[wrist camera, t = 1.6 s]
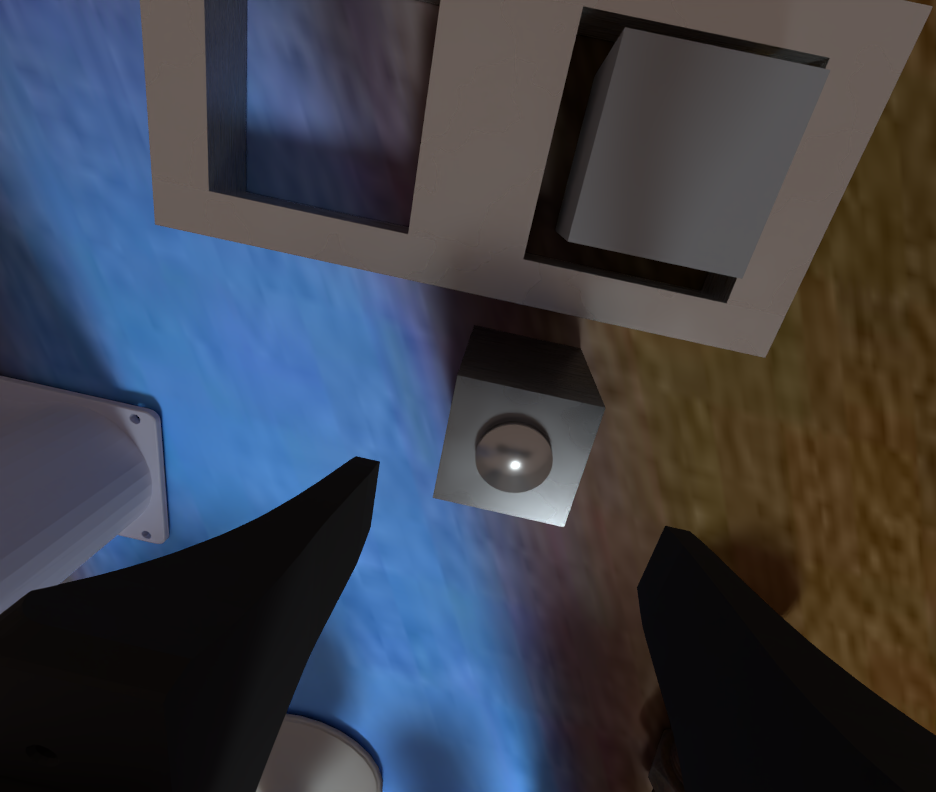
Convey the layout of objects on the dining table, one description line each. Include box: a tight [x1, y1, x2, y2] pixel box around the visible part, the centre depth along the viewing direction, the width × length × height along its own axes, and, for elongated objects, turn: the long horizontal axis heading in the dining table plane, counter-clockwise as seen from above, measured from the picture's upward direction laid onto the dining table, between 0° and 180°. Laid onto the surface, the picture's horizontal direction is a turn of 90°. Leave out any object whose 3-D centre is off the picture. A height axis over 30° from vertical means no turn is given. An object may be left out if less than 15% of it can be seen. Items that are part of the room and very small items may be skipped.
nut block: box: [433, 325, 605, 527], centre depth 18 cm, size 4×4×6 cm
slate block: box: [555, 27, 830, 279], centre depth 15 cm, size 5×5×5 cm
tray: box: [140, 0, 933, 357], centre depth 16 cm, size 22×10×2 cm, turn 79°
